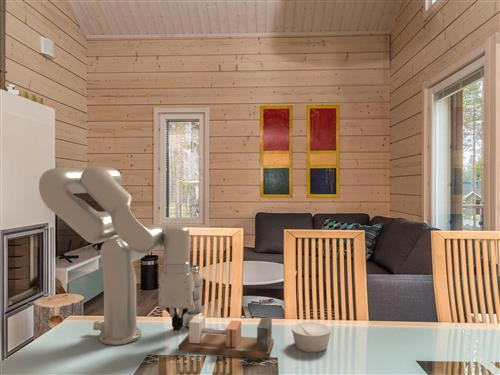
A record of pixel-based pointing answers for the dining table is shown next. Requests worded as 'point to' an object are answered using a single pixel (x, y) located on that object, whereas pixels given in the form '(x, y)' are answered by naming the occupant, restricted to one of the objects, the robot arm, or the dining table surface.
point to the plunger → (201, 329)
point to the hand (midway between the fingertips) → (177, 329)
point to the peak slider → (233, 334)
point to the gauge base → (245, 347)
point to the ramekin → (311, 336)
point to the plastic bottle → (198, 289)
